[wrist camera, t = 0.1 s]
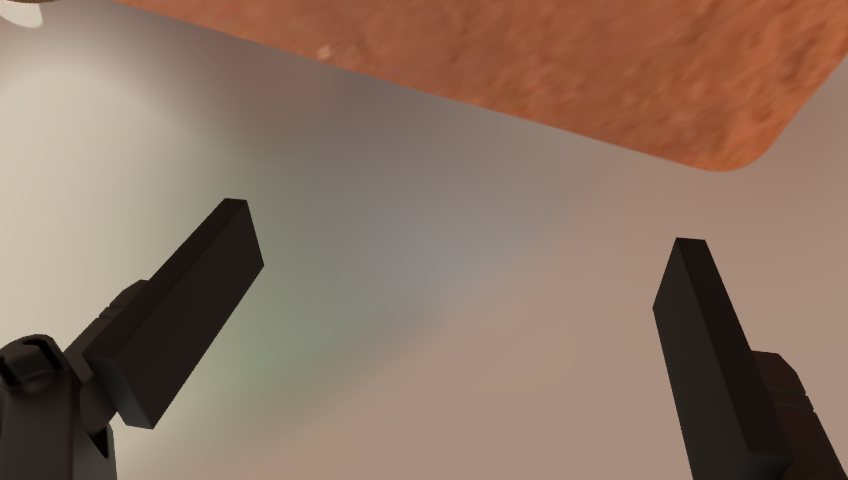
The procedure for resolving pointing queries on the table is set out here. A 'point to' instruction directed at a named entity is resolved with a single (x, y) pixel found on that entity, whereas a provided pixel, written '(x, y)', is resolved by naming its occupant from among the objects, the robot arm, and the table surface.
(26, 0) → the wooden container
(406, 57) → the table surface
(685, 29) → the table surface
